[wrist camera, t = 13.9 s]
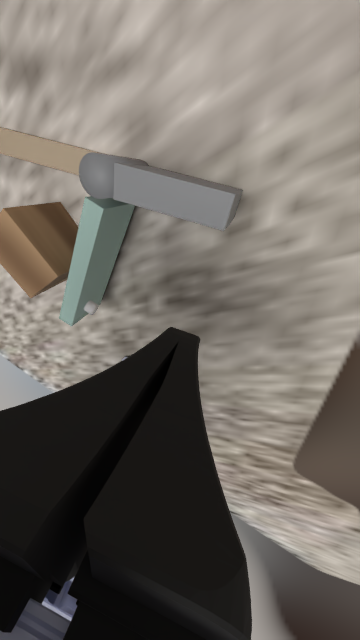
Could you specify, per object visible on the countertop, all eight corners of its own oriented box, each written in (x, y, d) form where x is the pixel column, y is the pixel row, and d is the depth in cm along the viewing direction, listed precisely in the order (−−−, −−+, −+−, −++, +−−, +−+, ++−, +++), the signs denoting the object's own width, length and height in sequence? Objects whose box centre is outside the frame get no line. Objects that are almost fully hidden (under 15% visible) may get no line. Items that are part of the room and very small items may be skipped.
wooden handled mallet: (233, 220, 15) (222, 235, 11) (-23, 148, 18) (-106, 140, 14) (244, 186, 14) (236, 189, 10) (-31, 115, 17) (-124, 95, 13)
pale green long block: (112, 187, 16) (74, 189, 13) (144, 208, 16) (114, 215, 13) (83, 293, 22) (51, 313, 18) (106, 308, 22) (79, 331, 18)
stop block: (60, 201, 18) (3, 208, 14) (99, 256, 20) (58, 276, 16) (36, 228, 20) (-20, 240, 16) (73, 276, 22) (30, 298, 18)
